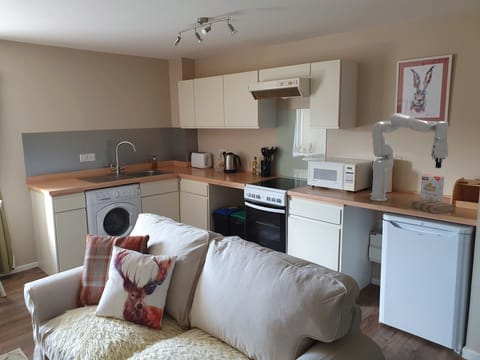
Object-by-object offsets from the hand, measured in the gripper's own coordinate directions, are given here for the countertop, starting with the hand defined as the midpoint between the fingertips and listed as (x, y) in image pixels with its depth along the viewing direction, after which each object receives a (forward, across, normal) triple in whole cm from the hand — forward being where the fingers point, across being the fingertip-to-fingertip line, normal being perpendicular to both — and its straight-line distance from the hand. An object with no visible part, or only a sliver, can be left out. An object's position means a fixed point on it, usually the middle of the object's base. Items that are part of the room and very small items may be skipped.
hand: (438, 167), depth 243 cm
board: (+29, 0, +3) cm, 29 cm away
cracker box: (+29, +15, +18) cm, 38 cm away
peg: (+29, 0, +3) cm, 29 cm away
